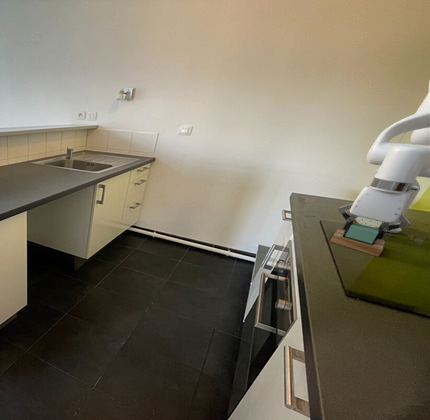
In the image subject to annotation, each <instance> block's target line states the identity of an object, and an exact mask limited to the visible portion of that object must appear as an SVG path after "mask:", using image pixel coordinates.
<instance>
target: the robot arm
mask: <svg viewBox="0 0 430 420" xmlns="http://www.w3.org/2000/svg"><path fill="white" fill-rule="evenodd" d="M408 132H409V133H410V132H412V133H411V136H410V139H409V140H410V143H402V142H401V143H400V142H399V143H398V142H390V141H391V140H392V139H393V138H395V137H397V136H400V135H402V134H405V133H408ZM365 157H366V158H365V159H366V162H367V163H369V164H370V165H373V166H374V165H375V166H379V168H378V170H377V171H376V173H375V175H374V177H373V179H372V181H371V182H370V184H369V185H365V186H364V187H363V189H361V190H360V192H359V193H358V195H357V197H356V198H355V200H354V201H353V202H352V203H349V204H346V205H342V206H340V207H338V208H337V210H338V212H339V213H340V214H341V215H342V217H343V218H344V219H345V224H344V226H343V228H342V230H345V232H344V233H347V232H348V230H349V228H350V227H351V225H352V224H353V220H354V219H356V218H357V217H358V216H359V217H364V218H368V219H372V220H377V221H381V222H382V227H381V229H379V231H378V232H379V233H378V234H377V236H376V238H375V239H374V241H377V239H379V240H383V237H384V236H385V234H386V233H390V234H391V233H392V234H399V233H401V232H402V231H403V230H402V228H406V227H409V226H411V223H410V221H409V220H408V219H407V218H406V216H405V214H406V213H407V211H408V210H409V208H410V207H411V205H412V203H413V202H414V200H415V199H416V197H417V196H418V194H419V192H420V191H421V185H420V183H419V182H418V180H417V177H420V178H428V179H430V80H429V81H428V93H427V94H426V96H425V98H424V99H423V101H422V102H421V104H420V105H419V107H418V108H417V109H416V111H415V113H414V114H411V115H408V116H406V117H404V118H402V119H400V120H397V121H396V122H394V123H392V124H390V125H389V126H388V127H386V128H385V129H384V130H382V131H381V133H380V134H379V135H378V136H377V137H376V139H375V141H374V142H373V144H372V145H371V147H370V148H369V149H368V152H367V154H366V156H365ZM347 210H349V213H350V214H349V213H348V212H347Z"/></svg>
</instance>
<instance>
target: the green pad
mask: <svg viewBox="0 0 430 420" xmlns="http://www.w3.org/2000/svg"><path fill="white" fill-rule="evenodd" d="M378 231H379V229H378V228H374V227H370V226H366V225H362V224H358V223H354V222H353V224H352V225H351V227H350V228H349V230H348V232H347V234H346V235H345V236H346V237H350V238H353V239H357V240H360V241H364V242H368V243H371V244H372V243H373V241H374V239H375V238H376V236H377V234H378V233H379V232H378Z"/></svg>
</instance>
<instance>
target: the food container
mask: <svg viewBox="0 0 430 420" xmlns="http://www.w3.org/2000/svg"><path fill="white" fill-rule="evenodd" d="M353 222H354V223H358V224H362V225H366V226H370V227H374V228H378V229H381V227H382V222H381V221H377V220H372V219H368V218H364V217H359V216H358V217H357V218H356V219H354V220H353Z"/></svg>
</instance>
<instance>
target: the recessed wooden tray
mask: <svg viewBox="0 0 430 420" xmlns="http://www.w3.org/2000/svg"><path fill="white" fill-rule="evenodd" d="M344 232H345V230H343V229H341V228H337V230H336V231H335V233H334V234H333V235H332V237H331V239H330V240H329V243H332V244H335V245H339V246H342V247H346V248H347V249H352V250H354V251H359V252H361V253H365V254H369V255H372V256H375V257H380V255H381V254H382V252H383V251H384V247H385V246H384V245H385V240H383V239H377V241H373V243H372V244H371V243H368V242H364V241H360V240H357V239H353V238H350V237H346V236H345V235H346V234H347V233H344Z"/></svg>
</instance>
